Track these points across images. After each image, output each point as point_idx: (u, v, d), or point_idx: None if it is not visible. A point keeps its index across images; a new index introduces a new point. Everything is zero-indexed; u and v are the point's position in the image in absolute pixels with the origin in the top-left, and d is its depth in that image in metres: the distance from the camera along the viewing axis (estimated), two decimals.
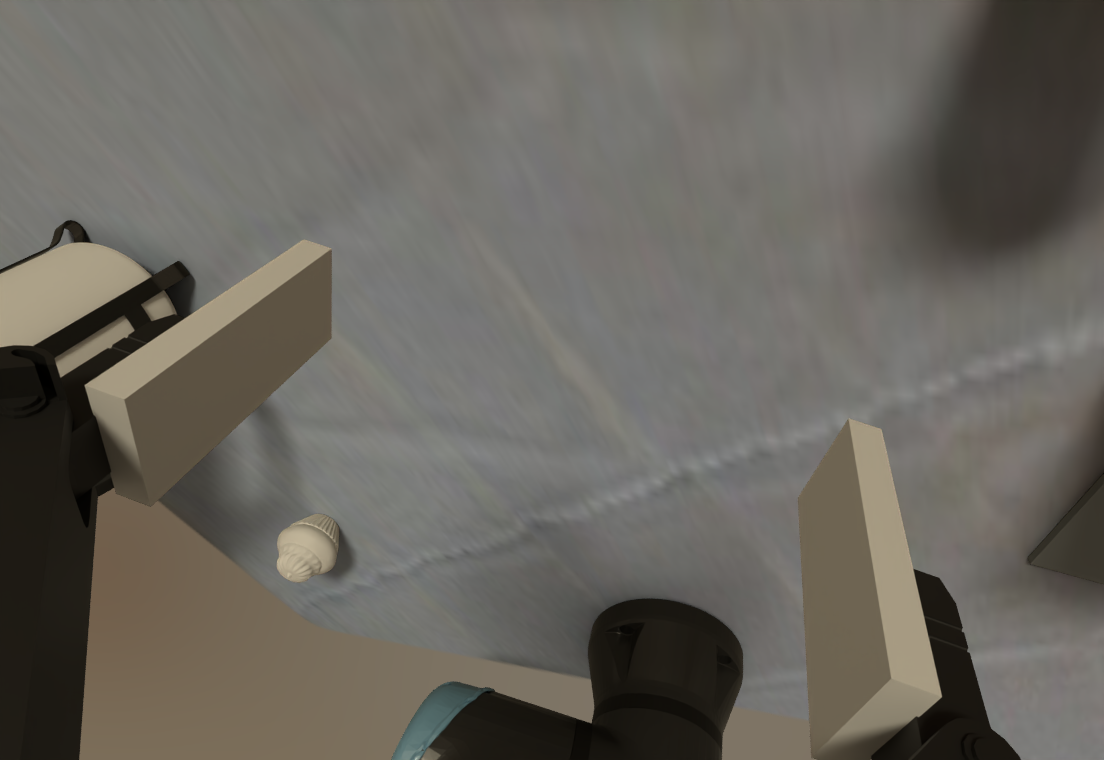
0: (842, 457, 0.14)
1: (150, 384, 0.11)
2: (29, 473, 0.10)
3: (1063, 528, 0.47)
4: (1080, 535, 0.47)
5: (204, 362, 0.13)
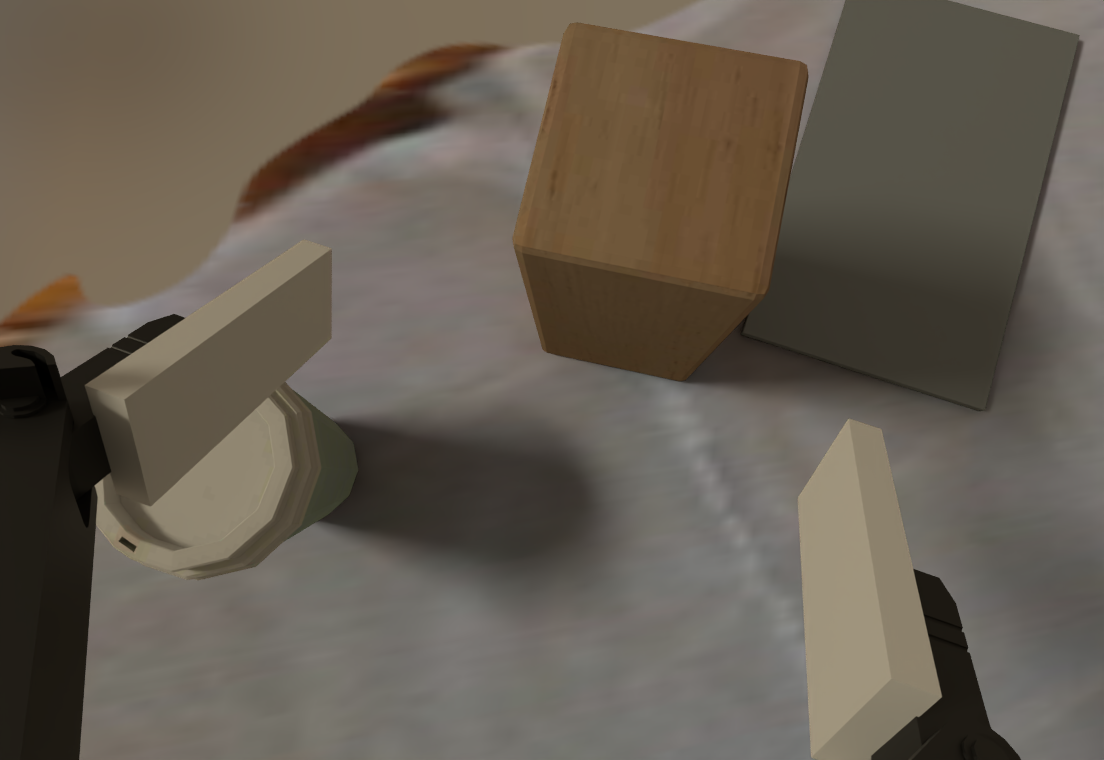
0: (842, 457, 0.14)
1: (150, 384, 0.11)
2: (29, 473, 0.10)
3: (922, 389, 0.43)
4: (930, 371, 0.43)
5: (204, 362, 0.13)
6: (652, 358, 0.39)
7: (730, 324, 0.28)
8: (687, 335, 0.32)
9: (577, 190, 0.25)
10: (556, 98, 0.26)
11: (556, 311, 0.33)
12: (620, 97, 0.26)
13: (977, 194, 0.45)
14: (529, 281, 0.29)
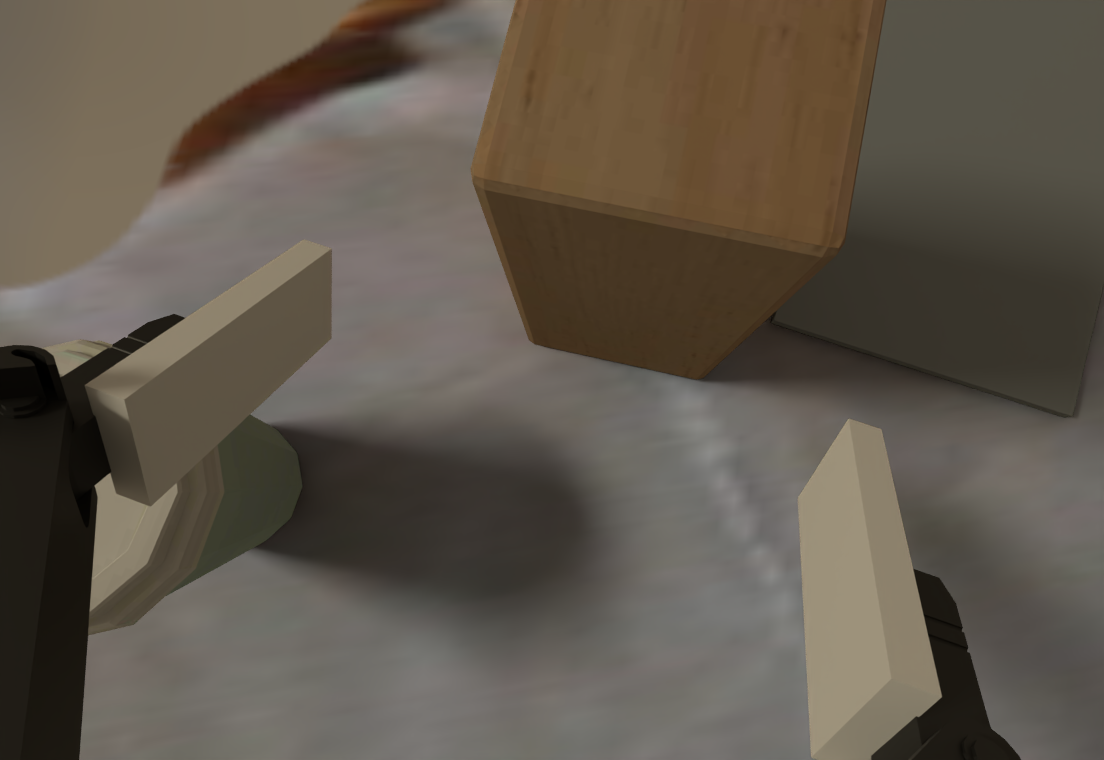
0: (842, 457, 0.14)
1: (150, 384, 0.11)
2: (29, 473, 0.10)
3: (994, 390, 0.35)
4: (1004, 368, 0.35)
5: (204, 362, 0.13)
6: (664, 350, 0.31)
7: (777, 298, 0.21)
8: (714, 317, 0.24)
9: (565, 99, 0.17)
10: None
11: (540, 285, 0.25)
12: None
13: (1059, 153, 0.37)
14: (500, 239, 0.21)
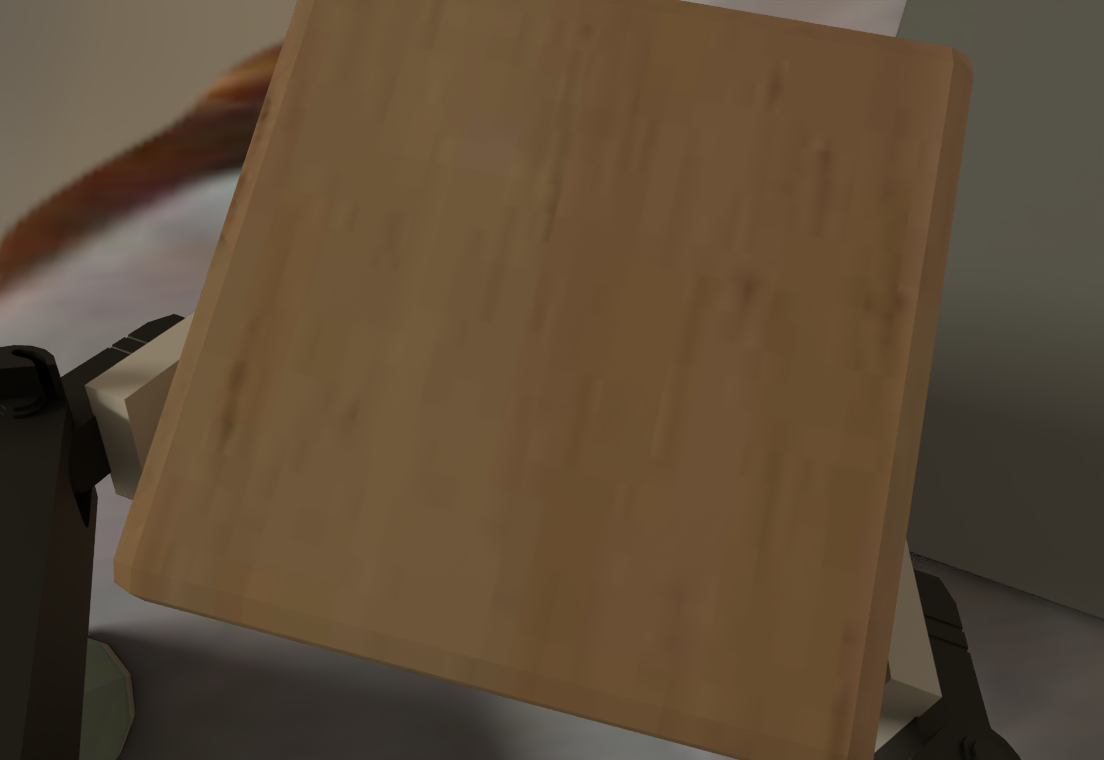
0: None
1: (150, 384, 0.11)
2: (29, 473, 0.10)
3: (1056, 600, 0.26)
4: (1069, 570, 0.26)
5: None
6: None
7: None
8: None
9: (300, 426, 0.09)
10: (263, 148, 0.09)
11: None
12: (440, 148, 0.09)
13: None
14: None
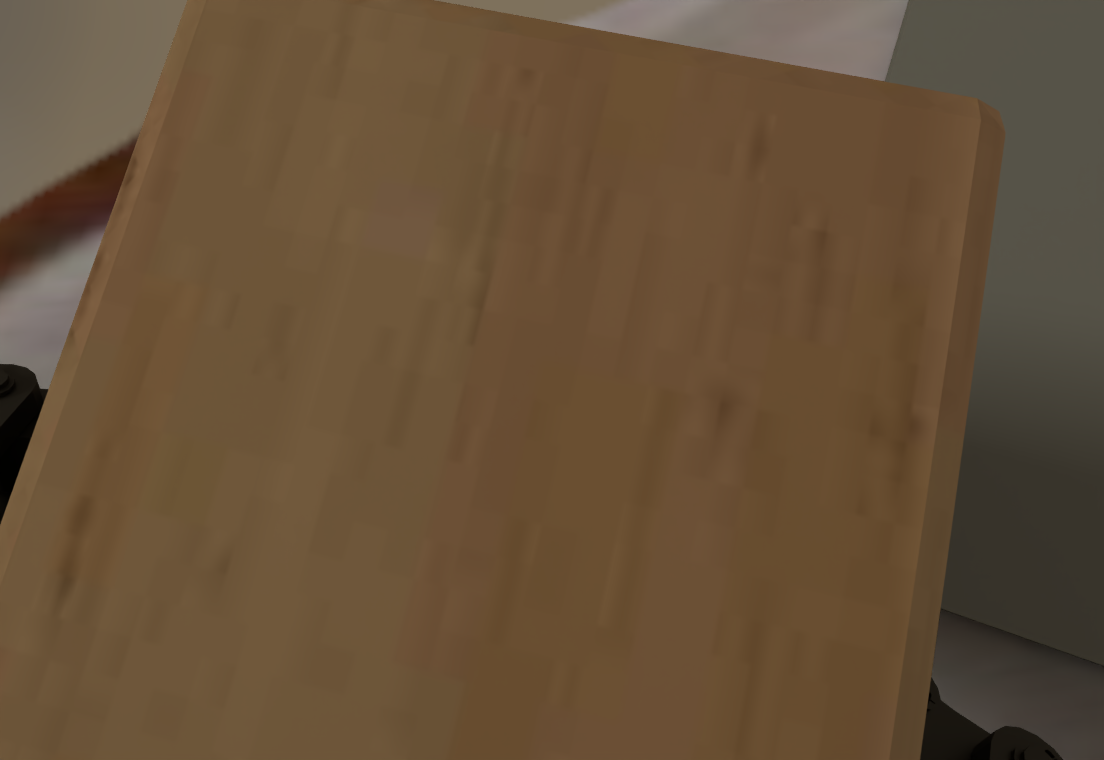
0: None
1: None
2: None
3: (1069, 651, 0.24)
4: (1082, 619, 0.24)
5: None
6: None
7: None
8: None
9: (159, 582, 0.07)
10: (125, 221, 0.07)
11: None
12: (342, 222, 0.07)
13: None
14: None
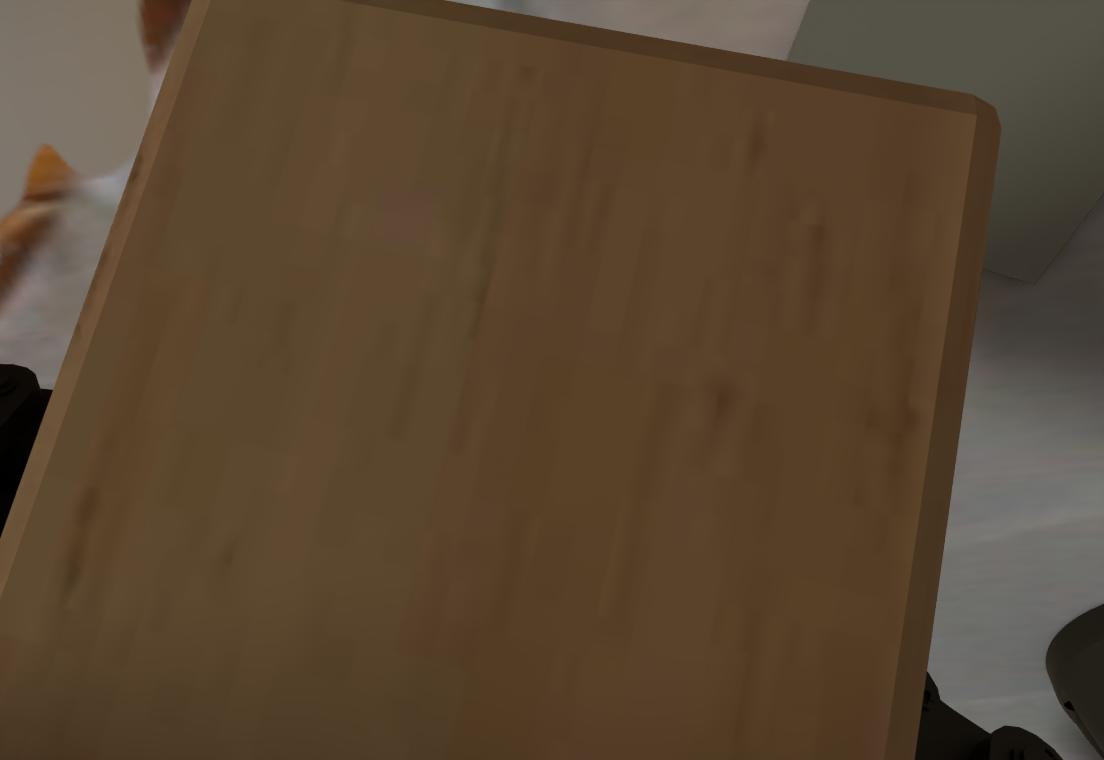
0: None
1: None
2: None
3: None
4: None
5: None
6: None
7: None
8: None
9: (164, 573, 0.07)
10: (131, 217, 0.08)
11: None
12: (345, 218, 0.07)
13: None
14: None
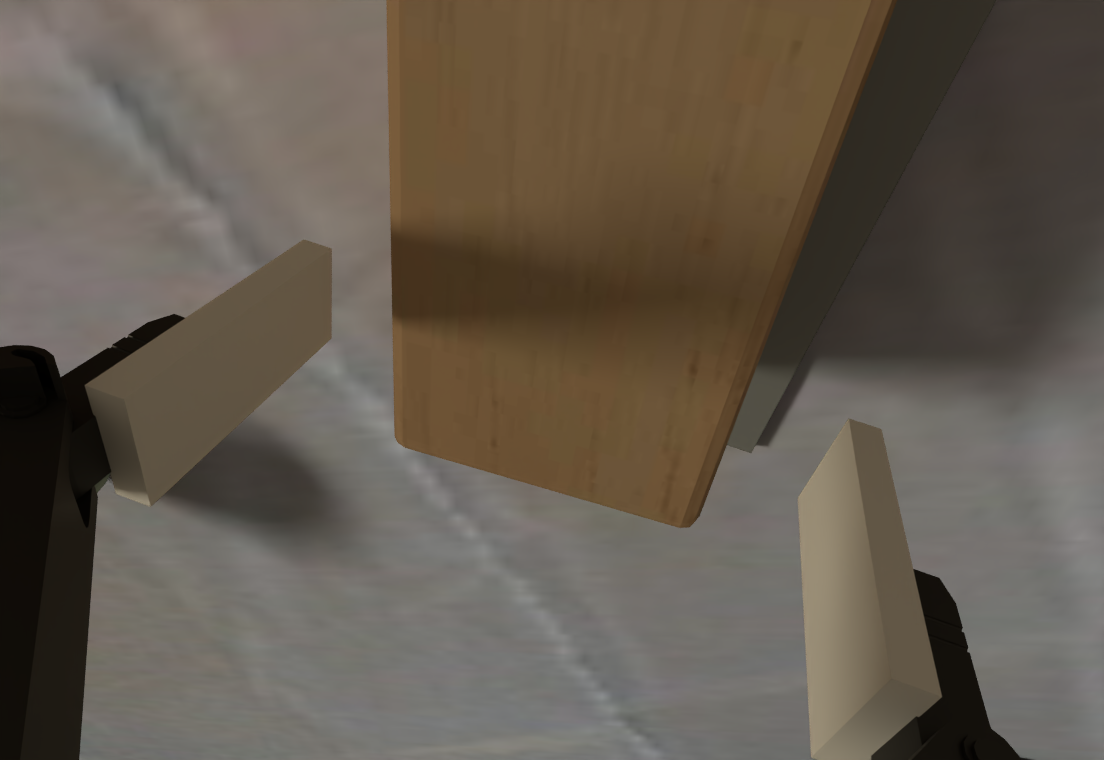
0: (842, 457, 0.14)
1: (150, 384, 0.11)
2: (29, 473, 0.10)
3: None
4: None
5: (204, 362, 0.13)
6: (639, 363, 0.17)
7: None
8: (762, 89, 0.13)
9: None
10: None
11: (445, 64, 0.14)
12: None
13: None
14: None
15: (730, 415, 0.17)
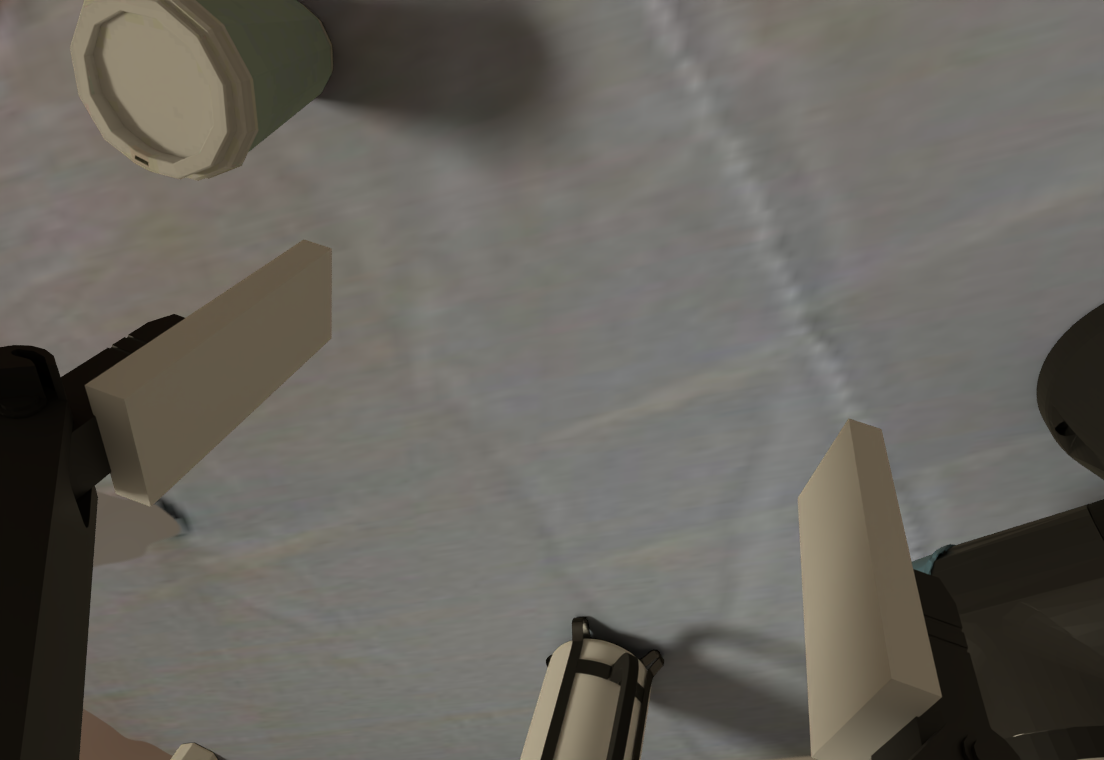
0: (842, 457, 0.14)
1: (150, 384, 0.11)
2: (29, 473, 0.10)
3: None
4: None
5: (204, 362, 0.13)
6: None
7: None
8: None
9: None
10: None
11: None
12: None
13: None
14: None
15: None
